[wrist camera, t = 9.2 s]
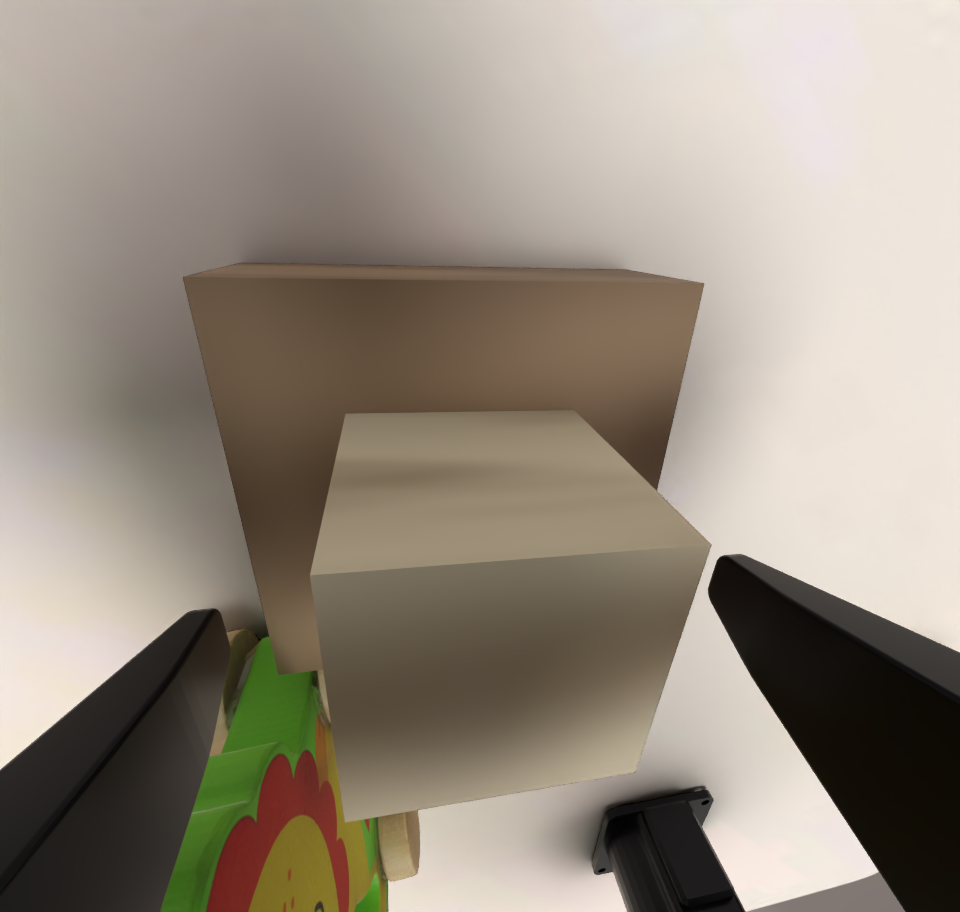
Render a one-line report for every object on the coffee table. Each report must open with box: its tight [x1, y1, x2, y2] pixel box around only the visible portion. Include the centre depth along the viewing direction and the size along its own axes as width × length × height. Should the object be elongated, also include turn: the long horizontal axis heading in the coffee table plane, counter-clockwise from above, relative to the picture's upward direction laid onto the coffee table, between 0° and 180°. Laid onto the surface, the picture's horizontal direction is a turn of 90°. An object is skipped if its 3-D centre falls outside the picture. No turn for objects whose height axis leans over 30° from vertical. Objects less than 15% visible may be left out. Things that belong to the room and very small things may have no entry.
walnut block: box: [183, 263, 704, 675], centre depth 13 cm, size 10×10×4 cm
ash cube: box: [310, 410, 711, 822], centre depth 9 cm, size 5×5×5 cm
